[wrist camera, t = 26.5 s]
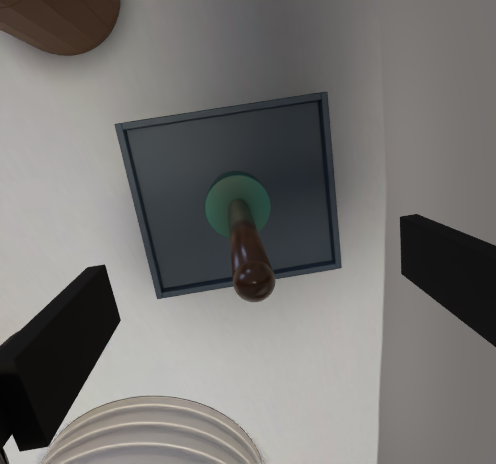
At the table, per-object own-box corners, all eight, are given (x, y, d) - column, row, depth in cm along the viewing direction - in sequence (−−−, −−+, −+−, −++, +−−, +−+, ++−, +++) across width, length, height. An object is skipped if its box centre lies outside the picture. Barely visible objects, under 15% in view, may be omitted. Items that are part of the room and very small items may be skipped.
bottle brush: (260, 166, 33) (320, 207, 13) (268, 223, 35) (332, 340, 15) (201, 175, 33) (168, 232, 13) (212, 233, 35) (197, 363, 14)
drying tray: (321, 94, 32) (327, 91, 31) (336, 262, 37) (341, 268, 35) (120, 124, 32) (114, 124, 30) (160, 291, 36) (157, 299, 35)
